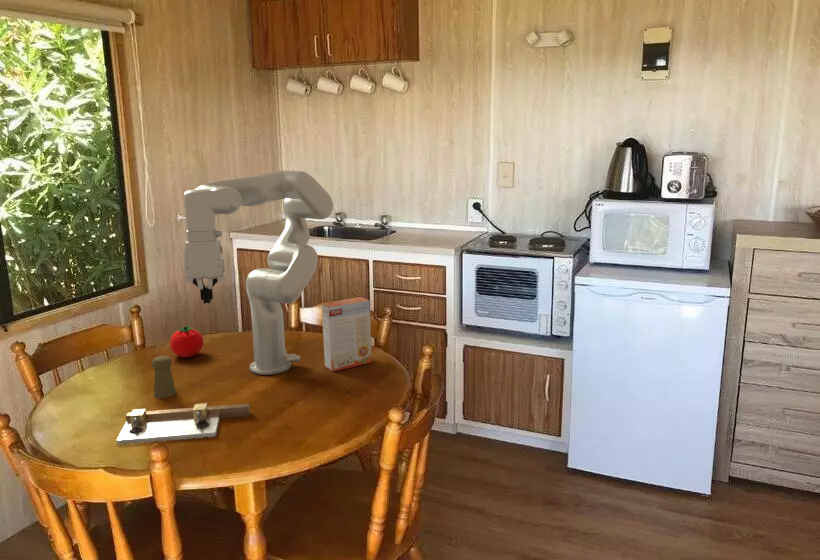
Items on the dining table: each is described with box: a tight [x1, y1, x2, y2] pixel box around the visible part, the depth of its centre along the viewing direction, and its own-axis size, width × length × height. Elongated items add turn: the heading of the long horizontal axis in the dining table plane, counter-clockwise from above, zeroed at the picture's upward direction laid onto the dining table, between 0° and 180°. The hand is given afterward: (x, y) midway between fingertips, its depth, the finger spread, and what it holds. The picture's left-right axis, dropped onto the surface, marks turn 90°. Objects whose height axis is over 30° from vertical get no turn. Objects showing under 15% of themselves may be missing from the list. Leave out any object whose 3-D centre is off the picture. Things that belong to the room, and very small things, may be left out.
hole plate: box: [116, 403, 251, 446], centre depth 173 cm, size 30×14×4 cm, turn 100°
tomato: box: [169, 324, 204, 358], centre depth 223 cm, size 10×10×10 cm
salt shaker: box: [151, 355, 177, 399], centre depth 193 cm, size 6×6×11 cm
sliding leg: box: [192, 402, 208, 423], centre depth 173 cm, size 3×6×3 cm, turn 10°
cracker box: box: [321, 296, 372, 373], centre depth 212 cm, size 14×6×21 cm, turn 121°
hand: (207, 302), depth 187 cm, fingers closed
